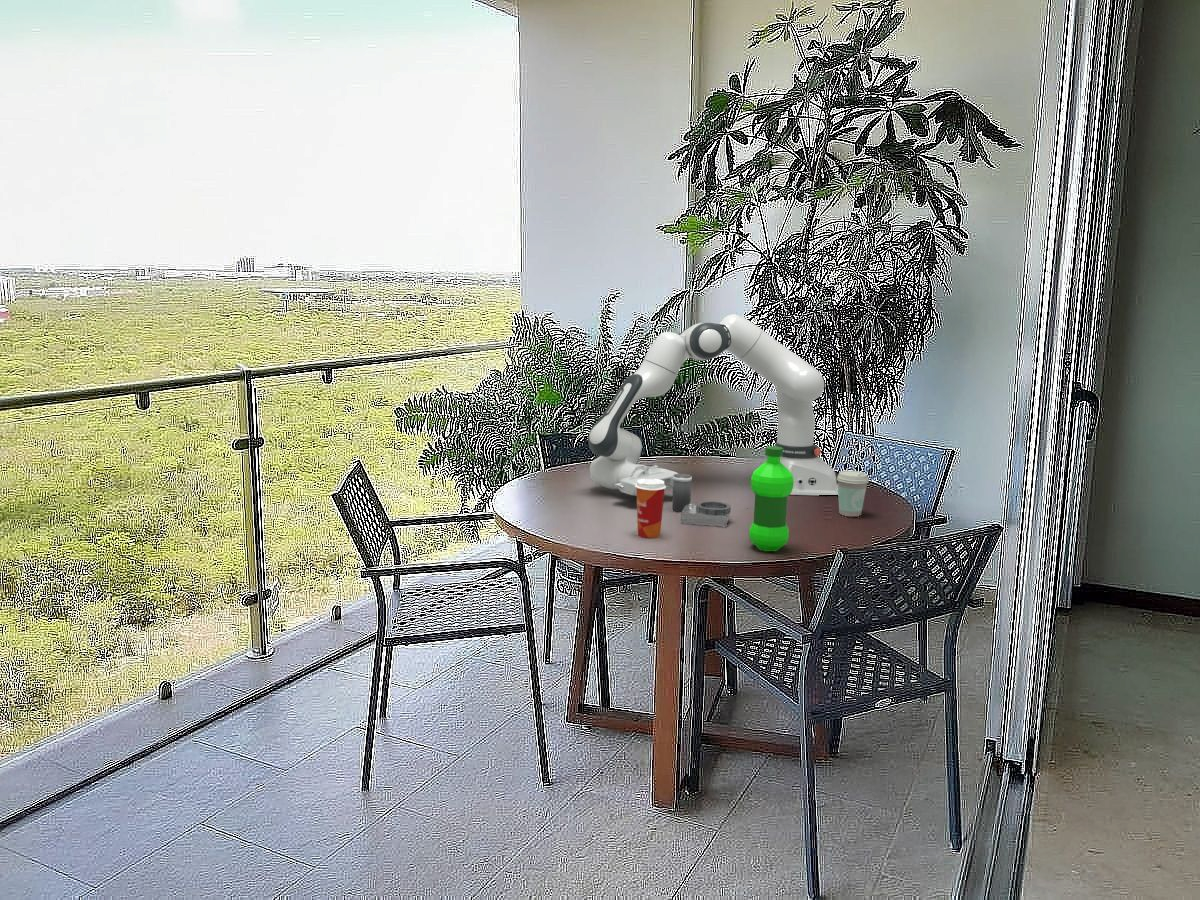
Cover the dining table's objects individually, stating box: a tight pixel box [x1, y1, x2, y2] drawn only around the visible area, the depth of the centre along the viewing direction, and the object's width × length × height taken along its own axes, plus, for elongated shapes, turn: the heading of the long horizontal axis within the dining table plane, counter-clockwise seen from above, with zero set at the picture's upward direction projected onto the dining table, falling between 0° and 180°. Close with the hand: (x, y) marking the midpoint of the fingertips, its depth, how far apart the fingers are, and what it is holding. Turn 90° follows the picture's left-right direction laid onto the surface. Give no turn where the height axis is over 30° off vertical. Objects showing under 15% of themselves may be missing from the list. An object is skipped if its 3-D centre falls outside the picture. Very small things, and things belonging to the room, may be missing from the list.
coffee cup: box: [836, 470, 870, 516], centre depth 258 cm, size 9×8×12 cm
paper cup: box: [635, 479, 667, 539], centre depth 234 cm, size 8×8×14 cm
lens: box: [671, 473, 693, 513], centre depth 259 cm, size 5×5×10 cm
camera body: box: [680, 500, 732, 528], centre depth 249 cm, size 12×9×4 cm
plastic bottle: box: [748, 445, 794, 552], centre depth 224 cm, size 10×10×25 cm
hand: (671, 487), depth 262 cm, fingers open, 8 cm apart
